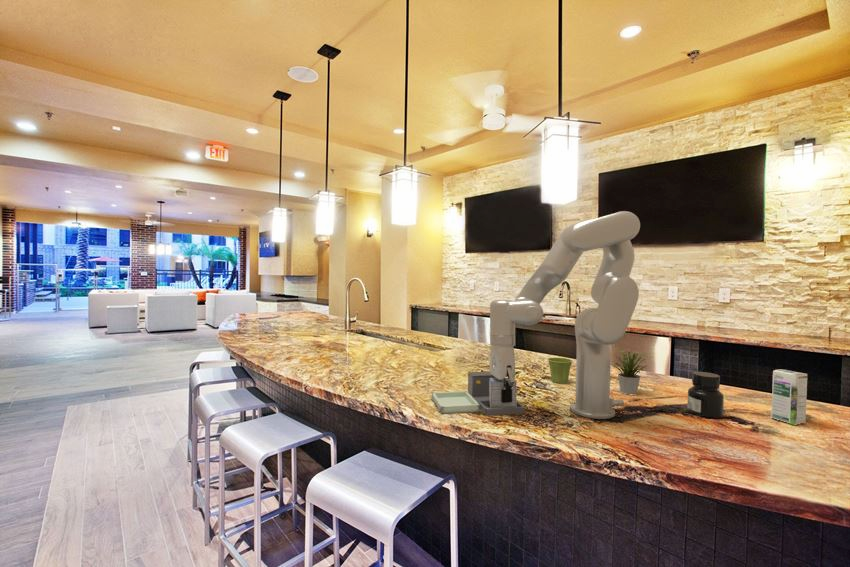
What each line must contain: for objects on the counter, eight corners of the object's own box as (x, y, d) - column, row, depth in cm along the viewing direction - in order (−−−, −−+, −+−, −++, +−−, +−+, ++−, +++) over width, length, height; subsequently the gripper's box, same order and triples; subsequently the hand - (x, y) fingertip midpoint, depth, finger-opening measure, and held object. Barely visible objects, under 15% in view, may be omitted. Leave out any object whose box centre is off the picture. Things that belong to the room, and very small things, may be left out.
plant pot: (542, 379, 154) (542, 357, 154) (562, 377, 157) (562, 356, 157) (556, 385, 146) (557, 362, 145) (577, 384, 148) (578, 361, 148)
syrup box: (770, 418, 114) (771, 370, 114) (782, 416, 116) (783, 368, 116) (794, 426, 109) (796, 374, 108) (806, 423, 111) (808, 373, 110)
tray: (466, 397, 130) (466, 391, 130) (479, 411, 116) (479, 405, 116) (431, 398, 128) (431, 392, 128) (440, 413, 114) (441, 406, 114)
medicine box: (514, 405, 120) (514, 377, 120) (516, 410, 116) (516, 381, 116) (489, 404, 121) (489, 377, 121) (490, 409, 117) (490, 381, 116)
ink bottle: (685, 406, 124) (686, 369, 124) (719, 411, 120) (720, 372, 120) (689, 415, 116) (690, 376, 115) (726, 421, 111) (727, 380, 111)
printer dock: (500, 392, 136) (500, 371, 136) (525, 413, 115) (526, 388, 115) (465, 394, 134) (465, 372, 133) (485, 415, 113) (486, 389, 113)
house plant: (665, 397, 133) (666, 350, 132) (636, 401, 128) (637, 352, 127) (629, 386, 146) (630, 343, 146) (601, 389, 141) (602, 345, 141)
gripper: (481, 336, 126) (482, 391, 126) (501, 345, 109) (501, 409, 109) (503, 335, 127) (503, 390, 128) (526, 344, 110) (526, 407, 111)
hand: (502, 398), depth 118 cm, fingers closed on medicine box, 5 cm apart
